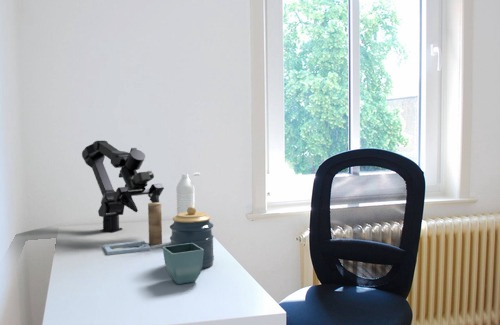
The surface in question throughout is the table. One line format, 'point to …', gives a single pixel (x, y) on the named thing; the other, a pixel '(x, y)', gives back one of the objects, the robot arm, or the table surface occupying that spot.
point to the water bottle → (185, 193)
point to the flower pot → (183, 262)
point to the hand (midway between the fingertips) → (148, 210)
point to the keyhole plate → (120, 249)
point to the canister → (194, 232)
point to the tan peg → (155, 223)
